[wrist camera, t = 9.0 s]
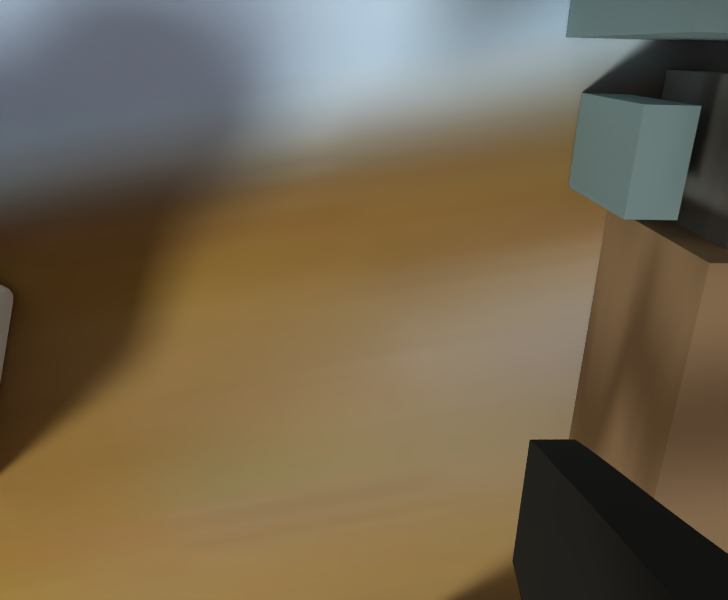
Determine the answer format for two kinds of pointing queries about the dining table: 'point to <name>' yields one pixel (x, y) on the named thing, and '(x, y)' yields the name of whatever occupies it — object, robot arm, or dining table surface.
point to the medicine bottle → (4, 320)
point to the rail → (667, 334)
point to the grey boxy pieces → (638, 111)
